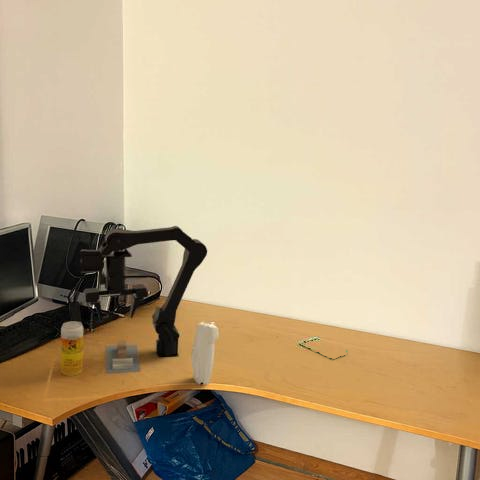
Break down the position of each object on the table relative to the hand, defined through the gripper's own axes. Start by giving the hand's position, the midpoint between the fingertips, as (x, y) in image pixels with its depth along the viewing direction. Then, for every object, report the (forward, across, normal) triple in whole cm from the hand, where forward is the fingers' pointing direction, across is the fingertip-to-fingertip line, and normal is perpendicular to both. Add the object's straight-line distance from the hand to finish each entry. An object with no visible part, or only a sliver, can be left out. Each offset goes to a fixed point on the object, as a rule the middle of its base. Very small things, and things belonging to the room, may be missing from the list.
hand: (116, 319), depth 155 cm
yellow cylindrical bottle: (+13, +14, +7) cm, 20 cm away
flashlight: (+14, -21, +23) cm, 34 cm away
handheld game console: (+16, -70, +11) cm, 73 cm away
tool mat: (+13, -1, +2) cm, 13 cm away
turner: (+12, -1, +2) cm, 12 cm away
